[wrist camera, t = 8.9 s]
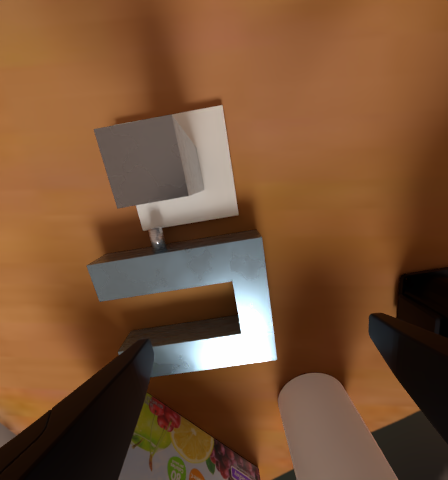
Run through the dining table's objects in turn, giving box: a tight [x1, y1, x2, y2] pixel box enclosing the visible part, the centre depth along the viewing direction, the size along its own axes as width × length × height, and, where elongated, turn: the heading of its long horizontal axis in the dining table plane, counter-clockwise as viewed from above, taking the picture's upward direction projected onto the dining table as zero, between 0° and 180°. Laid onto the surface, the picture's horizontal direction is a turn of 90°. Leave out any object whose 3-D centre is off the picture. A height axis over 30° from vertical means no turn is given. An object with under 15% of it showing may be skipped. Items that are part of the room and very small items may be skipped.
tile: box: [118, 105, 239, 231], centre depth 19 cm, size 9×9×1 cm
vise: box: [87, 226, 277, 377], centre depth 20 cm, size 15×14×3 cm
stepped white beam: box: [94, 115, 204, 208], centre depth 14 cm, size 7×4×9 cm, turn 100°
